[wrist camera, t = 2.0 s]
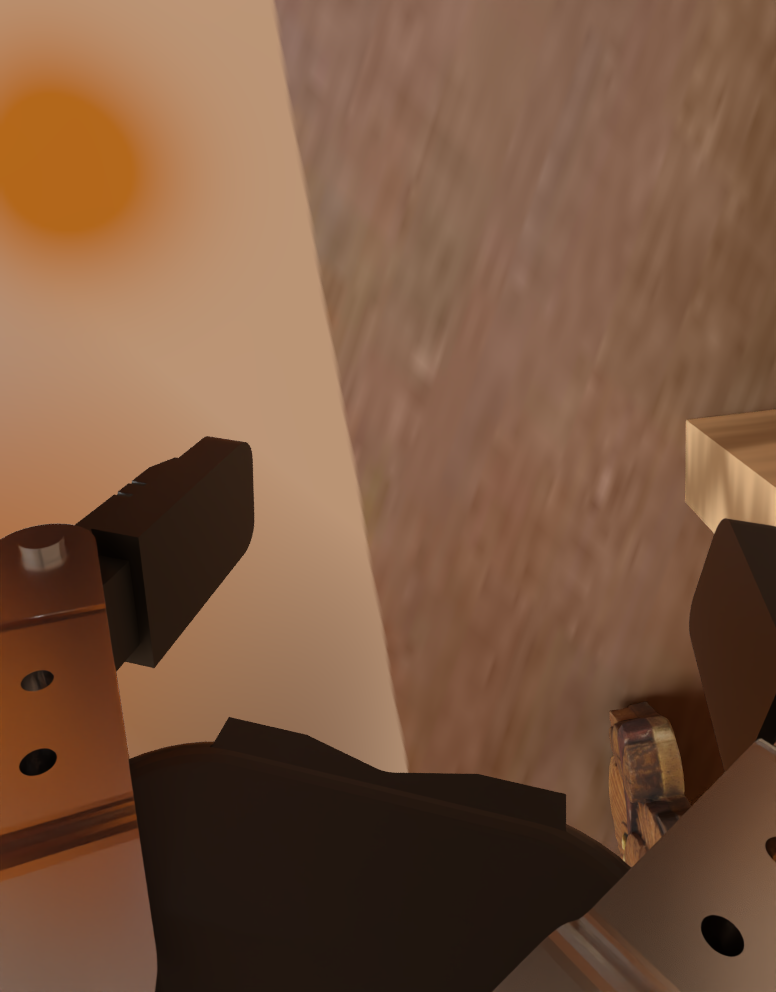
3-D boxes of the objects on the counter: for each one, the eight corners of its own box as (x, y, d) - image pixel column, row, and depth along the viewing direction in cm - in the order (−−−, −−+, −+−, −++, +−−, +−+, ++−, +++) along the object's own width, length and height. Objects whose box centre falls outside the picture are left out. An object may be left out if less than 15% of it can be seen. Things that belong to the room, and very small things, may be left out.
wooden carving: (570, 683, 41) (610, 816, 32) (648, 667, 40) (713, 798, 31) (619, 881, 47) (665, 1044, 37) (689, 870, 46) (754, 1034, 36)
